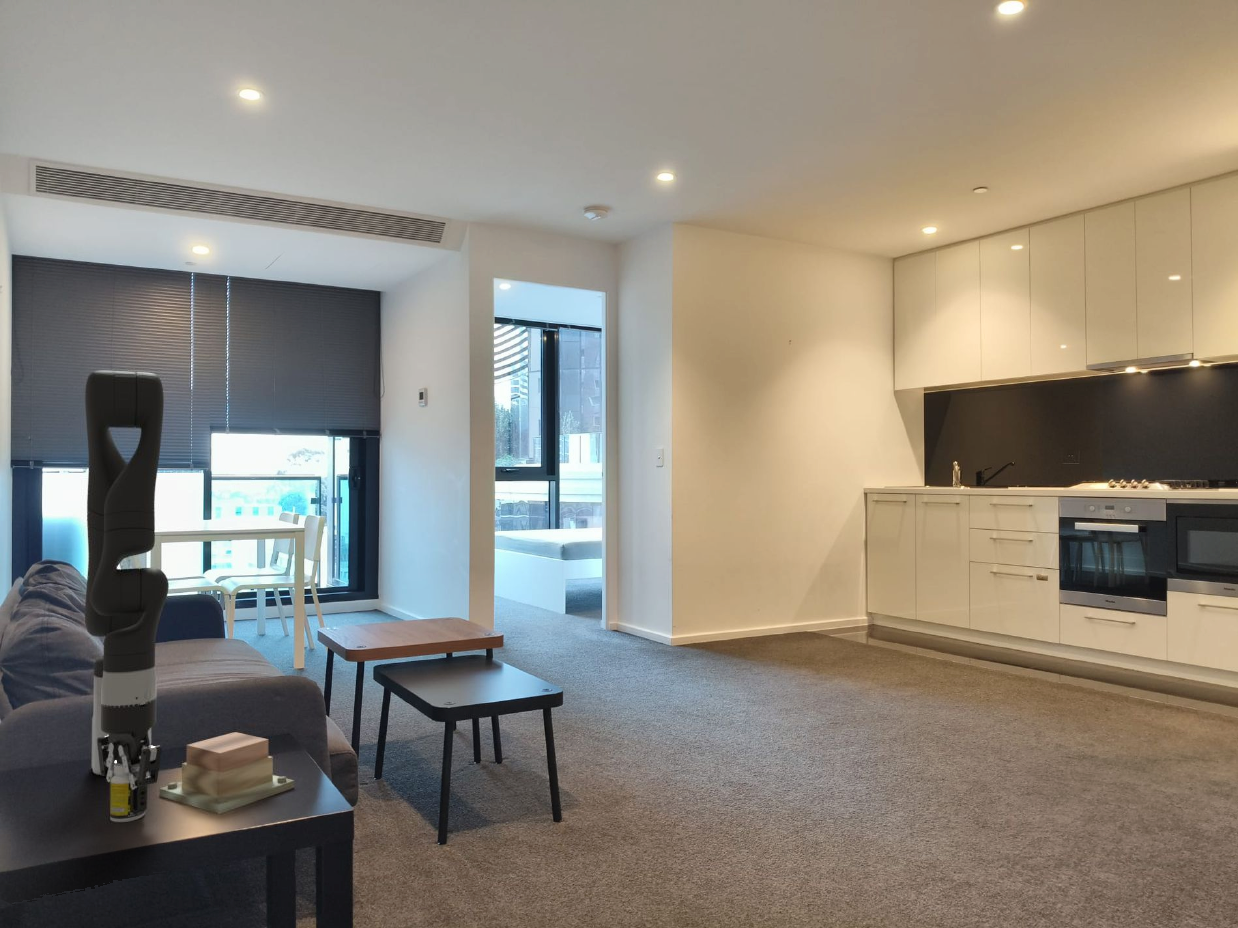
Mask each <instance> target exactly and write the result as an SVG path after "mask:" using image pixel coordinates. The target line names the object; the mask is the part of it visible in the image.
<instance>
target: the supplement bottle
mask: <svg viewBox="0 0 1238 928" xmlns="http://www.w3.org/2000/svg"><path fill="white" fill-rule="evenodd" d="M131 766H132V767H137V766H140V763H139V764H135V765H131ZM138 773H139V772H136V777H137V780H138ZM114 774H115V776H113V777H112V779H111V803H110V804H109V806H110V807H109V808H110V810H109V811H110V812H109V813H110V814H109V818H110V821H111V822H114V823H126V822H127V823H128V822H133V821H136V820H139V819H141V818H142V817H144V816H145V814H146V810H145V811H142V812H139V813H136V814H134V813H131V812H130V789H132V788H131V785H130V780H129V776H128V775H126V774H125V772H124V767H123V764H119V763H115V764H114Z"/></svg>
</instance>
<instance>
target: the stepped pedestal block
mask: <svg viewBox="0 0 1238 928" xmlns="http://www.w3.org/2000/svg"><path fill="white" fill-rule="evenodd" d="M273 762H274V757H273V756H271V755H269V739H268V738H264V737H259V736H254V735H251V734H250V735H249V734H247V733H246V734H245V733H241V732H236V731H235V732H230V733H227V734H223V735H219V736H215V737H212V738H207V739H205V740H204V739H203V740H200V741H196V742H193V743H189V744H186V761H185V762H182V763H181V781H179V782H176V781H175V782H169V783H168V784H167V786H162V787H160V788H159V791H158V792H159V794H158V796H159V797H162V798H165V799H167V800H168V799H169V800H171V801H175V802H178V803H181V804H186V805H189V806H192V807H195V808H197V809H201V810H204V811H205V810H206V811H208V812H211V813H214V814H218V815H221V814H223V813H225V812H228V811H231V810H234V809H237V808H241V807H242V806H246V805H249V804H251V803H252V804H253V803H254V802H257V801H260V800H263V799H265V798H269V797H272V796H274V795H277V794H280V793H283V792H285V791H289V790H291V789H294V788H295V780H294V779H290V778H287V776H278V775H274V774H273V773H274V770H273V769H274V763H273Z"/></svg>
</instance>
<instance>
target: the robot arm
mask: <svg viewBox="0 0 1238 928" xmlns="http://www.w3.org/2000/svg"><path fill="white" fill-rule="evenodd" d="M162 383H163V382H162V380H161V378H160V377H159V376H158V374H156V373H153V372H152V373H151V372H145V371H143V372H142V371H125V370H122V371H121V370H104V369H103V370H101V369H100V370H95V371H91V372H90V373H89V375H88V376H87V379H86V384H85V392H84V393H85V394H84V399H85V418H86V419H85V421H86V432H87V449H88V476H87V477H88V478H87V497H86V498H87V499H86V501H87V502H86V515H87V516H86V526H87V528H86V529H87V547H88V549H87V550H88V556H87V557H88V561H87V562H88V563H87V575H86V576H87V577H86V579H87V580H86V588H85V589H86V591H85V603H84V604H85V605H84V621H85V628H86V631H87V632H88V634H89V635H90V636H92V637H98V638H102V637H103V638H104V639H103V655H101V656H99V657H98V658H96V659H95V660H94V664H93V715H92V717H91V722H92V723H91V768H92V773H94V774H95V775H100V776H101V777H103V776H106V781H107V782H108V783H109V802H108V803H109V805H110V803H111V779H112V777H113V776H115V774H114V764H115V763H119V764H123V767H124V772H125V774H126V775H128V776H129V780H130V785H131V788H132V789H130V812H131V813H134V814H136V813H139V812H142V811H145V812H146V810H147V807H148V786H151V785H153V784H157V782H158V778H159V771H160V762H161V757H162V746H161V745H159V744H158V745H155V746H154V745H152V728H153V727H155V725H156V724H157V692H158V691H157V685H158V684H157V683H158V682H157V674H156V638H157V631H158V626H159V622H160V618H161V615H162V612H163V609H164V605H165V604H166V601H167V598H168V593H169V589H170V588H169V579H168V577H167V575H166V574H165V573H164V571H163V570H161V569H160V568H158V567H142V568H141V567H140V568H139V567H138V568H136V567H135V568H121V569H120V568H118V566H119V565H120V564H121V562H122V561H123V560H125V559H127V558H130V557H135V556H137V555H142V554H146V553H149V552H151V551H152V550H153V548H154V547H155V542H156V533H155V530H156V527H155V526H156V525H155V524H156V522H155V521H156V519H155V512H156V511H155V496H156V484H157V477H158V468H159V461H160V452H161V445H162V444H161V443H162V433H163V432H162V431H163V422H164V421H163V420H164V406H165V404H164V403H165V402H164V399H165V398H164V387H163V384H162ZM110 428H115V429H117V428H124V429H125V428H126V429H140V436H139V437H140V438H139V441H138V445H137V447H136V450H135V451H134V453H133V455H132V456H131V458H130V460H129V461H128V462H127V461H126V459H125V458H124V457H123V456H122V454H121V452H120V450H119V449H118V448H117V446H116V444H115V442H114V439H113V437H112V434H111V432H110ZM139 763H140V766H137V767H132V766H131V765H135V764H139ZM136 772H139V773H138V780H137V777H136Z"/></svg>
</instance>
